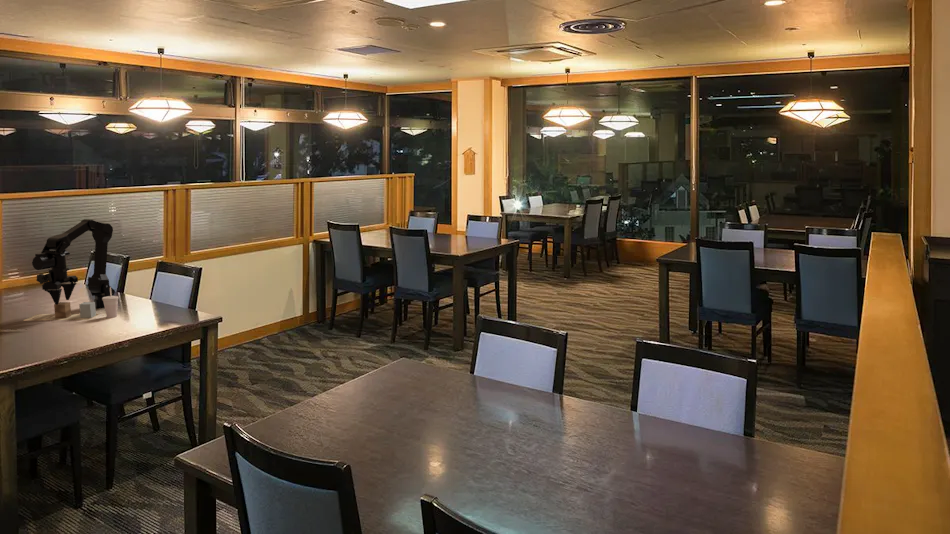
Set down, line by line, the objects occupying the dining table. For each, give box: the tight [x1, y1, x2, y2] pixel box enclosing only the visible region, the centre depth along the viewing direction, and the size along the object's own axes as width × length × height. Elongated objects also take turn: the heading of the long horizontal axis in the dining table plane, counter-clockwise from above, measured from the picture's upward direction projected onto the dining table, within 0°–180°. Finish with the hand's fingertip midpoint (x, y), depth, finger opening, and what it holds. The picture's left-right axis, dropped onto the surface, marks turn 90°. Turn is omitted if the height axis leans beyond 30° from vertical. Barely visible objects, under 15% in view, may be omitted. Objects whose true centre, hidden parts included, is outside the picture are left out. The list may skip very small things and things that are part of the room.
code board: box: [22, 313, 100, 322], centre depth 311 cm, size 27×12×1 cm, turn 93°
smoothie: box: [102, 286, 119, 319], centre depth 310 cm, size 6×6×14 cm
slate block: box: [78, 301, 97, 319], centre depth 311 cm, size 4×4×6 cm
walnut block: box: [53, 301, 72, 318], centre depth 310 cm, size 4×4×6 cm
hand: (62, 302), depth 310 cm, fingers open, 9 cm apart
